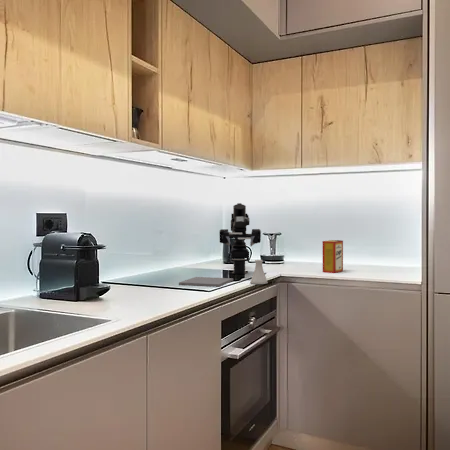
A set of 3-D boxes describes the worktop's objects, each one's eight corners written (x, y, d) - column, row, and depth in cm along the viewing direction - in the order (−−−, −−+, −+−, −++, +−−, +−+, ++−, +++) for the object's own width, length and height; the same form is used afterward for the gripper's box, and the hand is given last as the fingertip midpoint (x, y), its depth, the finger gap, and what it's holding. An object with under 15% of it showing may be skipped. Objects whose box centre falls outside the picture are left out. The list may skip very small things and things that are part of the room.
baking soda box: (334, 273, 230) (334, 240, 230) (322, 272, 234) (322, 240, 234) (342, 271, 238) (342, 239, 237) (331, 270, 242) (331, 239, 241)
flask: (270, 283, 198) (270, 260, 198) (256, 285, 194) (256, 261, 194) (261, 281, 204) (261, 258, 204) (247, 283, 201) (247, 259, 200)
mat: (196, 279, 214) (196, 276, 214) (233, 280, 208) (233, 278, 208) (178, 284, 197) (178, 282, 197) (218, 286, 191) (218, 284, 191)
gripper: (219, 213, 216) (219, 229, 202) (260, 213, 216) (262, 229, 202) (219, 234, 221) (219, 251, 207) (259, 234, 221) (261, 251, 207)
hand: (240, 245), depth 206 cm, fingers open, 9 cm apart
